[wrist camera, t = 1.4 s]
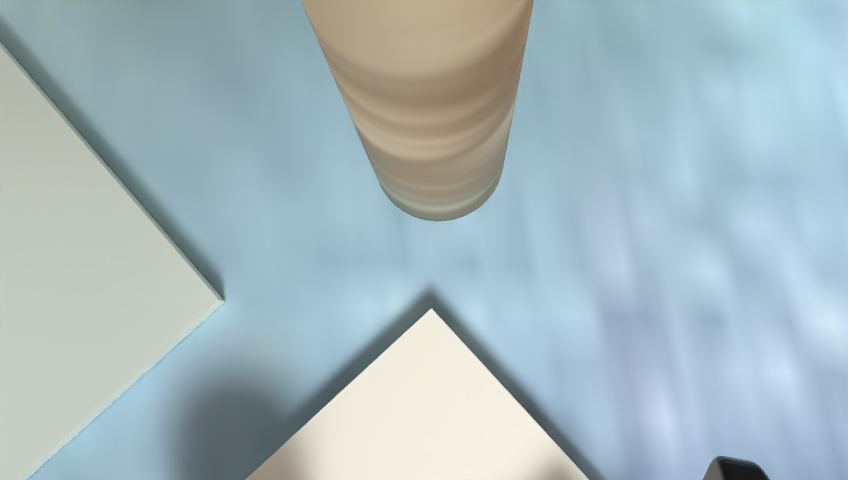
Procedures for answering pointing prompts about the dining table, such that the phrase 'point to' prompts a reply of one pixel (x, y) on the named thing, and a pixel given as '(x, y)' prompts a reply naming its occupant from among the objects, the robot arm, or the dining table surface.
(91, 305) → the board
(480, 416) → the tile
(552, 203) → the dining table surface
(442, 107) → the dowel
